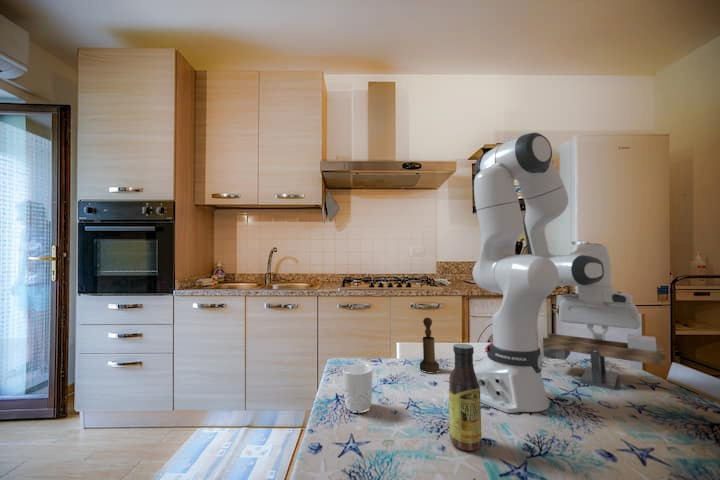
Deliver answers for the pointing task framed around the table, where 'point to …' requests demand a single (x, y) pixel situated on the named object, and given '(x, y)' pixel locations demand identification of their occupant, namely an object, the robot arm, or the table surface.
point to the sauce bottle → (464, 401)
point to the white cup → (357, 386)
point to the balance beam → (599, 349)
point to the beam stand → (599, 373)
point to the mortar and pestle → (428, 350)
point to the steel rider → (641, 343)
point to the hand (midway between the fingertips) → (598, 339)
